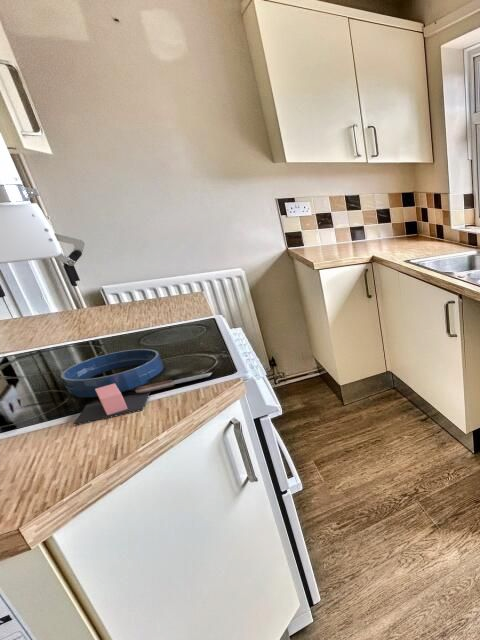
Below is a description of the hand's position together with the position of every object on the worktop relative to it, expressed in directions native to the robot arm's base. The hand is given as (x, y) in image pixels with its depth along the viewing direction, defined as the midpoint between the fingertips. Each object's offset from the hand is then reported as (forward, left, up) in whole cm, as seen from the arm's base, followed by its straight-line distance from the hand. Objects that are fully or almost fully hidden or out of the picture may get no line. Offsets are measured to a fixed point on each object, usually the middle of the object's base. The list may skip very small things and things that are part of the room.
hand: (39, 290), depth 81 cm
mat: (+7, -12, -22) cm, 26 cm away
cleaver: (+16, -6, -22) cm, 28 cm away
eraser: (+7, -12, -22) cm, 26 cm away
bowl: (+5, +3, -22) cm, 23 cm away
